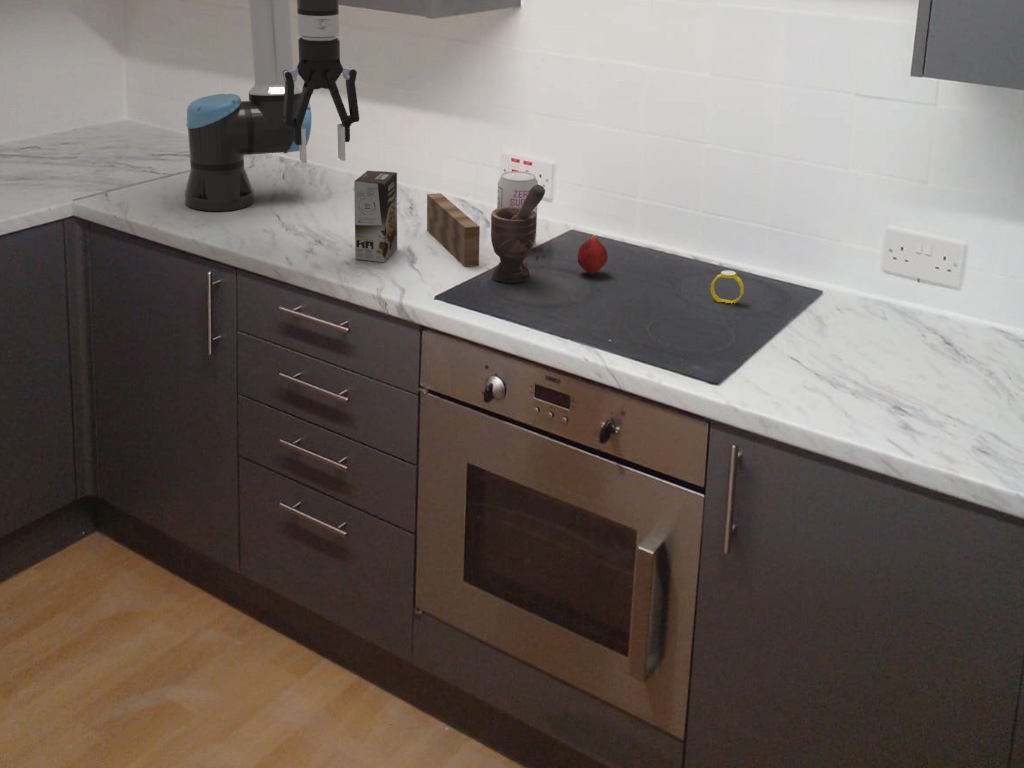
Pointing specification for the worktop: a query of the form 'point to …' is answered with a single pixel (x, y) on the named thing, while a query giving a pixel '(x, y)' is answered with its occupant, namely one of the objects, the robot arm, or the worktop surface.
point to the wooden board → (453, 229)
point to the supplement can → (515, 190)
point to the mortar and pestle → (514, 237)
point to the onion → (592, 255)
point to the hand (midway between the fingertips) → (322, 159)
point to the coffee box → (375, 215)
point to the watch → (727, 275)
